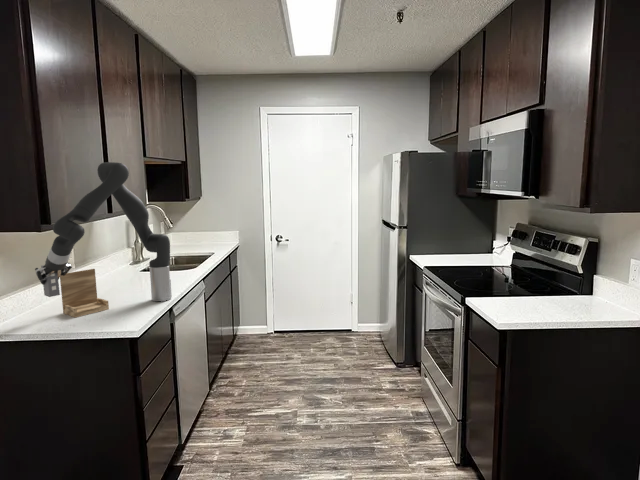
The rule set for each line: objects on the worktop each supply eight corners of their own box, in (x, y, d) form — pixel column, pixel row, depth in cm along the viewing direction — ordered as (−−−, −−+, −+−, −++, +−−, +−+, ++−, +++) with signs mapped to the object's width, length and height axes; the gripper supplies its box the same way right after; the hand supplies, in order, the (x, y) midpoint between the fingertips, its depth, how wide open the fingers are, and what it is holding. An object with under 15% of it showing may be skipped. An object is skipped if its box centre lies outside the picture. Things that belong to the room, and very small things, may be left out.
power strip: (60, 294, 180) (56, 265, 178) (49, 297, 176) (46, 266, 175) (54, 293, 183) (51, 264, 181) (44, 295, 179) (40, 265, 177)
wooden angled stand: (108, 309, 195) (105, 271, 193) (75, 317, 183) (71, 277, 181) (96, 305, 202) (93, 268, 199) (63, 313, 190) (59, 274, 187)
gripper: (73, 247, 178) (62, 272, 187) (35, 252, 167) (26, 278, 175) (80, 260, 176) (69, 285, 184) (42, 266, 164) (33, 292, 173)
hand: (48, 281), depth 180 cm, fingers closed on power strip, 4 cm apart
